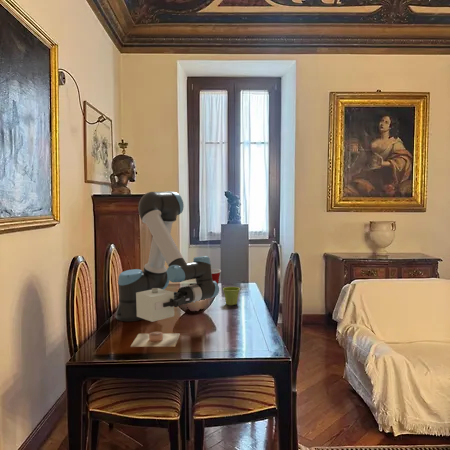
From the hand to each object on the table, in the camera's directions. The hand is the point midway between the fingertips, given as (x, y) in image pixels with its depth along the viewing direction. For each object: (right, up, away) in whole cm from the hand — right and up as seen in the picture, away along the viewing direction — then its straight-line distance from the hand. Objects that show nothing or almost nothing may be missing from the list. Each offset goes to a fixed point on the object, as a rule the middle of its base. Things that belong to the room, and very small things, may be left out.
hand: (147, 303), depth 178 cm
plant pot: (+35, -12, +66) cm, 76 cm away
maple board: (+3, -17, +4) cm, 18 cm away
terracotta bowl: (+3, -16, +4) cm, 16 cm away
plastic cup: (+24, -9, +106) cm, 109 cm away
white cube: (+3, -6, +3) cm, 7 cm away
